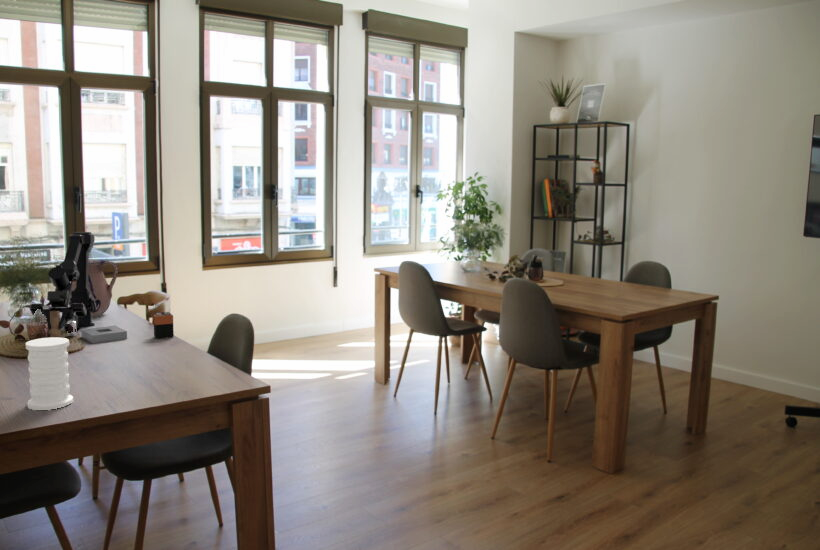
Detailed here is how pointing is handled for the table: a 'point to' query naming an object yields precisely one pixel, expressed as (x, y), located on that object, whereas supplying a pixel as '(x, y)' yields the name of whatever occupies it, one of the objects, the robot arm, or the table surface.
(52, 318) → the walnut pin
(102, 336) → the hole plate
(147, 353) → the table surface
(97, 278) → the ceramic pitcher
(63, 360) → the decorative container
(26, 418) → the table surface
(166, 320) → the battery
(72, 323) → the steel pin
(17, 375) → the table surface
